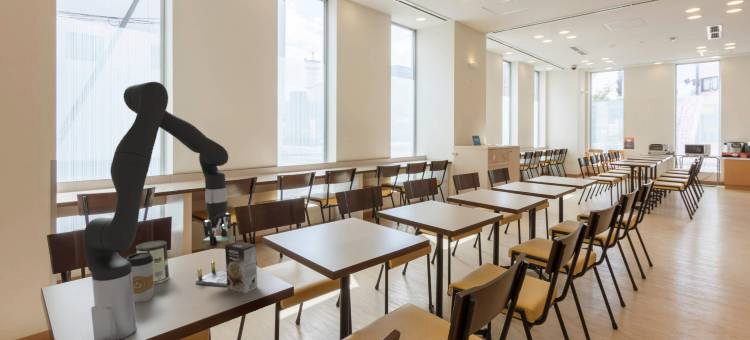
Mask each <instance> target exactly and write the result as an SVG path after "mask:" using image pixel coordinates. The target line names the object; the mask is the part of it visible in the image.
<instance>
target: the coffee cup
mask: <svg viewBox="0 0 750 340" xmlns="http://www.w3.org/2000/svg"><path fill="white" fill-rule="evenodd" d="M125 259H126V260H128V261H129V262H130V263H131V268H132V280H133V293H134V303H141V302H146V301H148V299H149V300H151V299H152V297H153V295H154V284H153V257H152V256H151V253H146V252H144V253H137V252H135V253H133V254H129V255H127V256H126V257H125Z"/></svg>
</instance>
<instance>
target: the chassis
mask: <svg viewBox="0 0 750 340" xmlns="http://www.w3.org/2000/svg"><path fill="white" fill-rule="evenodd" d="M210 265H211V271H210V272H209V273H207V274H205V275H203V273H202V272H203V270H202V268H201V267H200V268H197V269H196V270H197V279H195V284H196V285H207V286H214V287H215V286H217V287H227V271H226V270H216V261H215V260H213V261H211V262H210Z"/></svg>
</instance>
